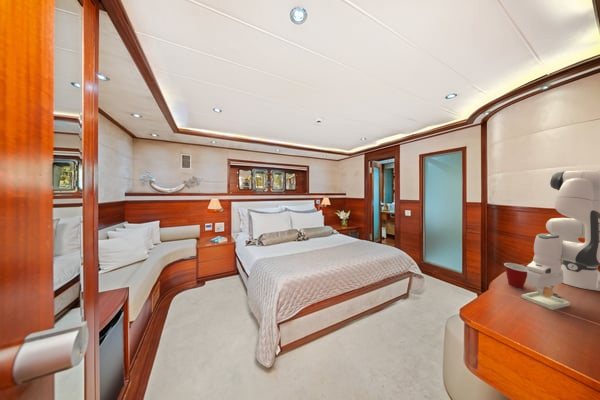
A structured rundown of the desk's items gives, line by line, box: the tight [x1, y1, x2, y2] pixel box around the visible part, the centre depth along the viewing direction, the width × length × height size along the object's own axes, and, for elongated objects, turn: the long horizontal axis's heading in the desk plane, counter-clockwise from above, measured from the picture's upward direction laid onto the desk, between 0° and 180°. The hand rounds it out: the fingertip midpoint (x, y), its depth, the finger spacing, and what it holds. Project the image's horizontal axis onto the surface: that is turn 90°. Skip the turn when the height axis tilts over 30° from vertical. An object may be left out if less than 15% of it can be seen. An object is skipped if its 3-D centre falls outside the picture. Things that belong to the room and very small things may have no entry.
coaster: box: [552, 292, 566, 300], centre depth 106 cm, size 7×7×1 cm
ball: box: [542, 286, 554, 297], centre depth 100 cm, size 5×5×5 cm
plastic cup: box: [503, 262, 528, 289], centre depth 116 cm, size 11×11×12 cm
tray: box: [520, 290, 571, 311], centre depth 100 cm, size 13×11×2 cm
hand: (545, 293), depth 100 cm, fingers closed on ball, 5 cm apart
